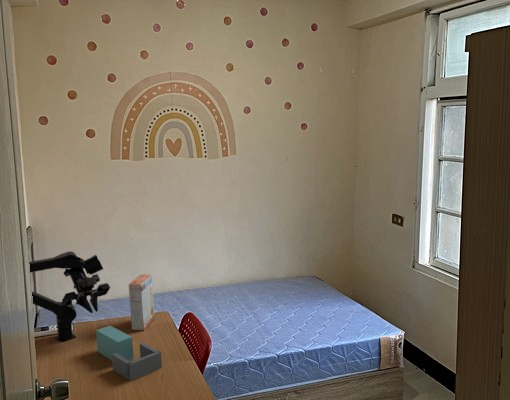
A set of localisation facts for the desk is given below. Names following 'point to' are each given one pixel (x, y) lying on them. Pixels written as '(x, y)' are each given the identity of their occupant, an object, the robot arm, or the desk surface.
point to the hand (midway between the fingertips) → (94, 312)
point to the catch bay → (138, 363)
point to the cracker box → (141, 302)
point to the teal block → (114, 343)
